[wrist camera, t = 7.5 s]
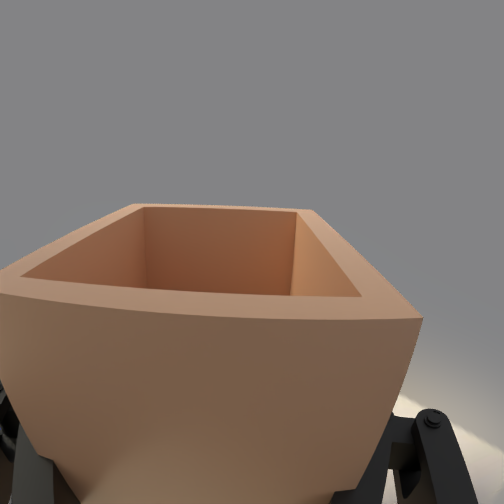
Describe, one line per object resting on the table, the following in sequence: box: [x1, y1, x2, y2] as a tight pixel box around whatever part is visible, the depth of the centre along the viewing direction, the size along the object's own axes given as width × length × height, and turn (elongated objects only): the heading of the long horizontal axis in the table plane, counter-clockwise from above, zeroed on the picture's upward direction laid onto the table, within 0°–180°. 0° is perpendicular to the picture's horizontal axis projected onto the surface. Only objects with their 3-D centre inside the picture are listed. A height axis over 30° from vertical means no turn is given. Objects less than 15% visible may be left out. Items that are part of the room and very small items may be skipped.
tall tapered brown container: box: [0, 204, 423, 504], centre depth 11 cm, size 8×10×14 cm
